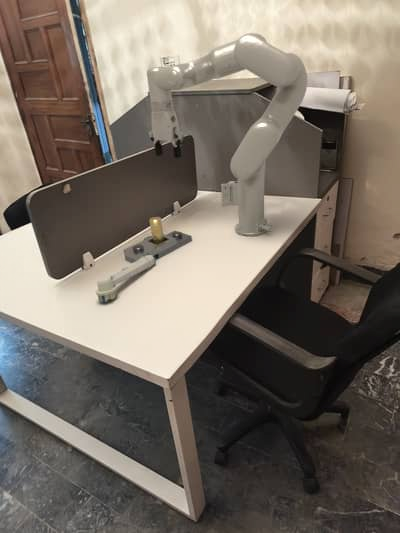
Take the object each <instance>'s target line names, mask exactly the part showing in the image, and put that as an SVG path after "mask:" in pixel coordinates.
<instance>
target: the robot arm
mask: <svg viewBox="0 0 400 533" xmlns="http://www.w3.org/2000/svg"><path fill="white" fill-rule="evenodd" d="M306 69H307V68H306V66H305V64H304V61H303V60H302V59H301V58H300V57H299V56H298V55H297V54H295V53H293V52H286V51H283V50H282V49H280V48H278V47H276V46H274V45H272V44H271V43H269V42H267V39H266V38H265V37H264V36H263V34H260V33H255V32H250V33H249V32H248V33H245V34H242V35H241V36H240V37H239V38H237V39H235V40H233V41H231V42H228V43H225V44H222V45H219V46H217V47H214V48H213V49H211V50H210V52H208V54H206V55H204V56H201V57H200V58H197V59H194V60H192V61H189V62H186V63H179V64H173V65H169V66H157V67H150V68H148V69H147V70H146V77H147V85H148V92H149V99H150V106H151V130H149V131H148V135H149V137H150V141H151V142H152V145H153V147H154V151H155V152H154V153H155V156H156V157H160V156H162V155H164V150H163V145H162V143H161V142H171V145H172V151H173V158H174V159H178V158H180V157H182V152H181V146H182V144H183V142H184V137H185V134H184V133H183V132H182V131H180V126H179V120H178V116H177V112H176V110H174V107H175V105H174V103H173V96H172V91H182V90H185V89H188V88H189V89H190V88H192V87H195V86H197V85H200V84H201V85H202V84H204V83H207V82H209V81H213V80H217V79H221V78H224V77H225V78H226V77H228V76H231V75H233V74H236V73H239V72H242V71H245V70H246V71H249V72H250V73H251V74H253V75H255V76H257V77H258V78H260V79H262V80H263V81H266V82H267V83H268V84H270V85H273V86H275V87H278V89H277V90H276V93H275V95H274V96H273V98H272V99H271V101H270V103H269V104H268V106H267V107H266V110H265V111H264V112H263V114H262V116H261V117H260V118H259V119H257V120H256V121H255V122H254V123H253V124H252V125H251V126H250V127H249V129H248V130H247V133H246V134H245V135H244V137H243V139H242V140H241V142H240V144H239V145H238V148H237V149H236V151H235V153H234V154H233V156H232V157H231V160H230V170H231V173H232V175H233V177H235V179H237V181H238V205H237V206H238V207H237V209H238V210H237V211H238V223H237V224H235V226H234V231H235V232H236V233H237V234H239V235H241V236H245V237H256V236H261V235H263V234H265V233H267V232H269V233H270V232H271V231H272V228H273V224H272V223H268V222H267V217H266V218H265V175H266V174H265V173H266V160H267V159H268V157H269V156H270V154H271V152H272V151H273V150H274V148H275V147H276V146H277V144H278V143H279V141H280V140H281V138H282V135H283V133H284V132H285V130H286V128H287V127H288V125H289V124H290V122H291V121H292V119H293V117H294V116H295V115H296V112H297V111H298V109H299V108H300V106H301V105H302V102H303V100H304V99H305V96H306V92H307V89H308V74H307V70H306Z"/></svg>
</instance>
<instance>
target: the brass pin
mask: <svg viewBox="0 0 400 533" xmlns="http://www.w3.org/2000/svg"><path fill="white" fill-rule="evenodd" d="M149 226H150V231H151V236H152V239H153V243H154V244H156V245H159V244H161V243H163V242H164V235H163V234H164V230H163V224H162V217H160V216H152V217H150V218H149Z"/></svg>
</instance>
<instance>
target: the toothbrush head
mask: <svg viewBox="0 0 400 533" xmlns="http://www.w3.org/2000/svg"><path fill="white" fill-rule="evenodd" d="M156 263H157V260H156V257H154V256H153V255H146V256H144V257H141V258H140V259H139V260H137V261H135V262H134V263H130V264H128V265H126V266H125V267H124V268H122V269H121V270H118V271H116V272H115V273H113V274H112V275H110V276H107V277H102V278H99V279H98V280H97V289H96V290H95V294H96V295H97V298H98V301H99V302H108V300H113V299H116V296H117V297H118V295H117V290H118V288H117V285H120V283H123V282H125V281H126V280H128V279H131V278H132V277H134V276H137V275H138V274H140V273H141V272H144V271H145V270H146V271H148V270H149V269H150V268H151V267H153V266H154V265H156Z"/></svg>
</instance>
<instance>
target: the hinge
mask: <svg viewBox="0 0 400 533" xmlns="http://www.w3.org/2000/svg"><path fill="white" fill-rule="evenodd" d="M220 188H221V191H220V192H221V204H222V205H221V206H222V207H227V205H228V206H238V180H236V181H234V180H232V181H231V180H230V181H228V183H227V182H226V183H221V184H220Z"/></svg>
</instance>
